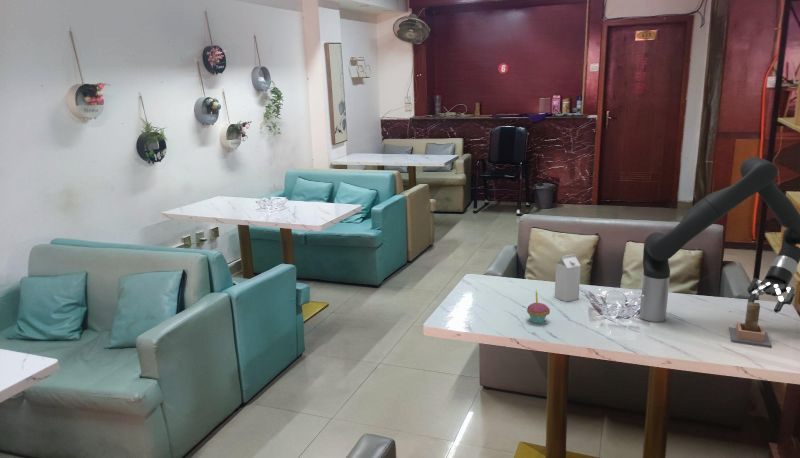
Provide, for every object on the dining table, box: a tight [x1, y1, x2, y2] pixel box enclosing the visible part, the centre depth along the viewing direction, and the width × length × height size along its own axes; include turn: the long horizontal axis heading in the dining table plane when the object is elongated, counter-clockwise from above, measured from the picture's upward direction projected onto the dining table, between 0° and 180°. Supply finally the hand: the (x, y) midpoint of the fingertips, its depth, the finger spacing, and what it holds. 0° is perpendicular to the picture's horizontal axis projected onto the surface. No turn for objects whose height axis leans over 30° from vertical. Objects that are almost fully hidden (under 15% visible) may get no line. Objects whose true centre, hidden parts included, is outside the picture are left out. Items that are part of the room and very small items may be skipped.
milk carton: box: [554, 253, 582, 303], centre depth 251 cm, size 7×7×19 cm
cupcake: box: [526, 289, 551, 324], centre depth 229 cm, size 9×8×12 cm
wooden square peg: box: [744, 301, 761, 332], centre depth 211 cm, size 4×4×12 cm
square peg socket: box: [728, 321, 772, 348], centre depth 212 cm, size 12×12×4 cm
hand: (762, 308), depth 214 cm, fingers open, 8 cm apart
